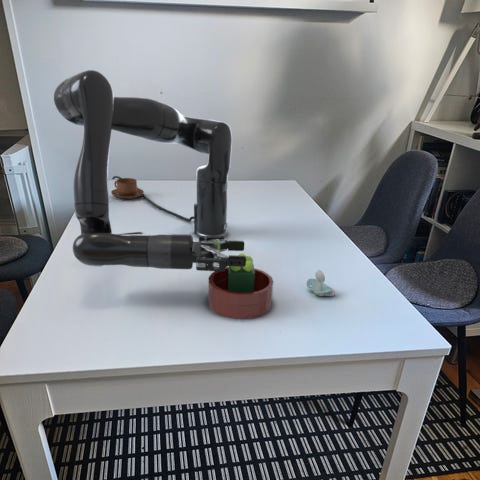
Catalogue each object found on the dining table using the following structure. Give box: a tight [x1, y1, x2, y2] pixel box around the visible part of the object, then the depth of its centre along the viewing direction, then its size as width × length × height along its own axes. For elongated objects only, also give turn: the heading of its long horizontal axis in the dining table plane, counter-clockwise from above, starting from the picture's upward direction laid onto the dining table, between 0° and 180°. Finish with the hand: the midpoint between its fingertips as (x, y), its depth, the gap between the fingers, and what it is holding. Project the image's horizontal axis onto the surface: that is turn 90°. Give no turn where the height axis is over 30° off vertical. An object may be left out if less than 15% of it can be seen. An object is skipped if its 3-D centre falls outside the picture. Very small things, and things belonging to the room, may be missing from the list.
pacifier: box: [306, 269, 336, 297], centre depth 111 cm, size 7×6×6 cm
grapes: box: [228, 253, 255, 293], centre depth 103 cm, size 6×6×12 cm
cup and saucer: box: [110, 177, 144, 200], centre depth 174 cm, size 12×12×6 cm
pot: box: [207, 266, 274, 320], centre depth 105 cm, size 15×15×6 cm
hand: (245, 253), depth 100 cm, fingers open, 8 cm apart
